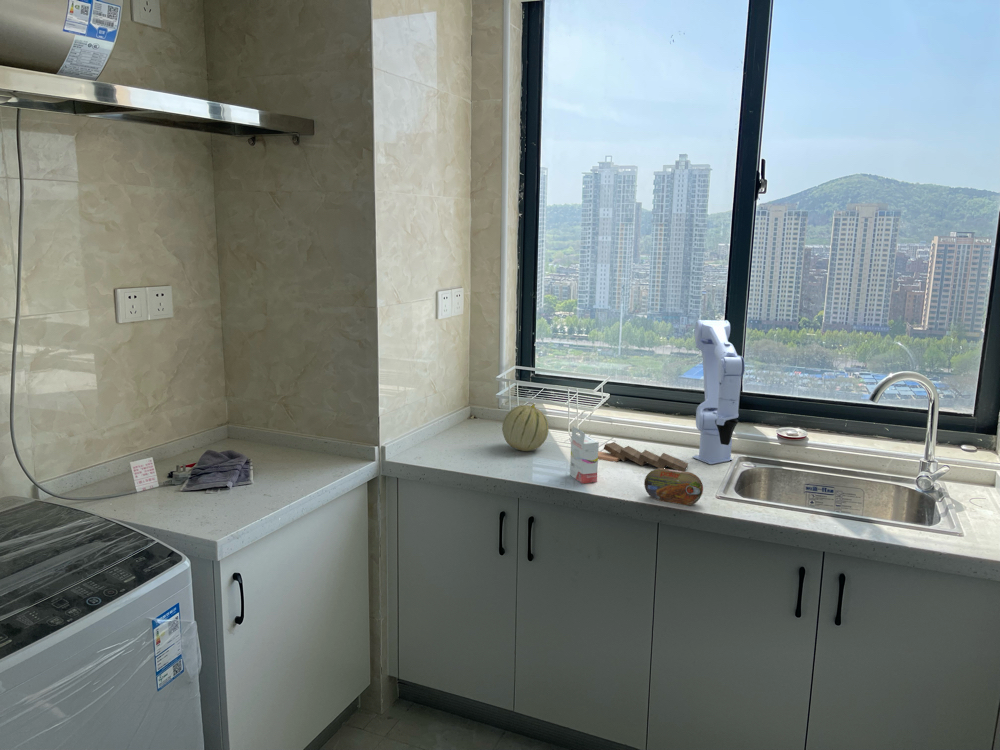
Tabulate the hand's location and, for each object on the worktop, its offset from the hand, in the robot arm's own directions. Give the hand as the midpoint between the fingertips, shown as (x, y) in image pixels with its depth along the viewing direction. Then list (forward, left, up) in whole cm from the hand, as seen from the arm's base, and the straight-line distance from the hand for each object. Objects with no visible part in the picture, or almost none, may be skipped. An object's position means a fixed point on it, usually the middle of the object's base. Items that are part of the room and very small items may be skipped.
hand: (724, 444), depth 212 cm
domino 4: (+10, -12, -9) cm, 18 cm away
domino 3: (+14, -18, -8) cm, 24 cm away
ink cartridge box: (+39, -15, -10) cm, 43 cm away
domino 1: (+18, -25, -9) cm, 32 cm away
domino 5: (+7, -8, -9) cm, 14 cm away
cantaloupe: (+40, -46, -10) cm, 62 cm away
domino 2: (+16, -23, -8) cm, 29 cm away
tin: (+28, +10, -10) cm, 31 cm away
